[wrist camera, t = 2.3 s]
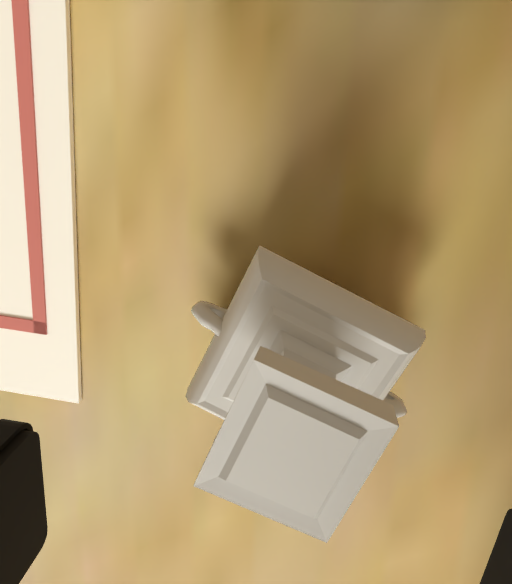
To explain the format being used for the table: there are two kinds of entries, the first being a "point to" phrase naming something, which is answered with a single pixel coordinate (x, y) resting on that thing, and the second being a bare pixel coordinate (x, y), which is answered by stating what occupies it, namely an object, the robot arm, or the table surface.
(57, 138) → the paper sheet
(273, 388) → the stamp
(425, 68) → the table surface
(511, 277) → the table surface
